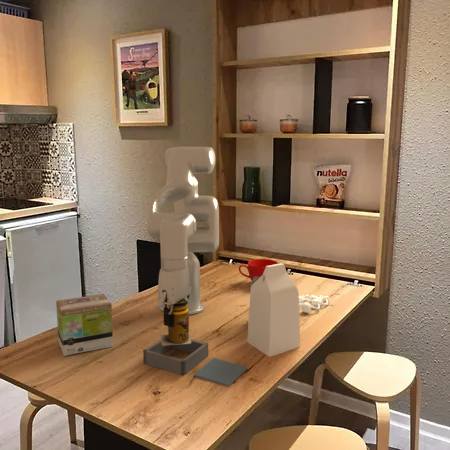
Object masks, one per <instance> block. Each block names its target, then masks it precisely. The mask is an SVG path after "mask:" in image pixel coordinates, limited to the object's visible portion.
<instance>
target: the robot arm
mask: <svg viewBox="0 0 450 450" xmlns="http://www.w3.org/2000/svg"><path fill="white" fill-rule="evenodd" d="M164 159H165V163H166V167H167V172H166V182H165V185H164V186H163V187H161V188H160V189H159V190H158V191H157V192H156V193H155V194H154V196H153V197H152V198H151V199H150V202H149V205H148V211H147V218H146V230H147V233H148V235H149V236H150V237H152V238H154V239H159V241H160V269H159V273H158V286H157V300H158V303H157V308H158V309H160V311H161V313H162V314H163V325H164V326H165V327H168V326H169V327H174V314H173V313H172V312H173V307H174V304H175V303H177V302H178V301H180V300H182V299H185V300H187V308H188V310H189V315H195V314H199V313H201V312H203V311H204V309H205V304H204V303H203V301H201V276H200V275H201V270H200V269H201V268H200V267H201V266H200V265H201V264H200V261H199V259H198V257H197V256H196V255H195V253H213V252H216V251H217V250H218V248H219V245H220V209H219V207H220V206H219V201H218V199H217V198H216V197H215V196H213V195H199V187H198V186H199V181H198V180H197V178H196V177H195V176H194V175H202V174H203V175H206V174H207V175H209V174H211V173H213V171H214V168H215V165H216V154H215V150H214V148H212V147H211V146H172V147H169V148H168V149H166V150H165V153H164ZM171 204H174V212H160V211H161V210H162V209H164V208H165V207H167V206H168V205H171ZM197 223H205V224H206V225H197ZM169 305H170V308H169V307H168V306H169Z"/></svg>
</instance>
